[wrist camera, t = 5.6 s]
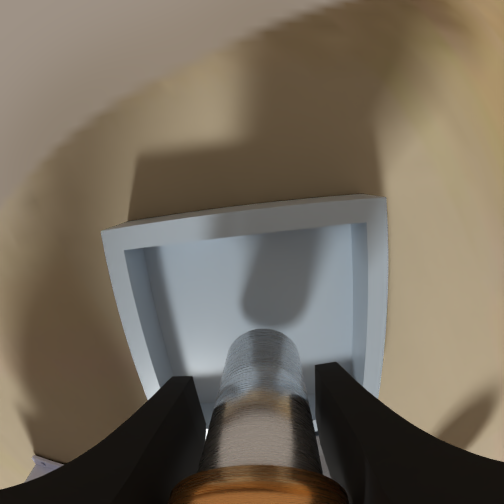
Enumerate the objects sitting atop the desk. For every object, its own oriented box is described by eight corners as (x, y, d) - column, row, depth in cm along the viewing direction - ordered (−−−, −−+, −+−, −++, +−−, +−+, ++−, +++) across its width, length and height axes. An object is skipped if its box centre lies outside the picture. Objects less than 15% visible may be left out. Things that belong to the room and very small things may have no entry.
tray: (174, 407, 15) (163, 438, 12) (127, 221, 12) (100, 230, 10) (360, 389, 14) (374, 419, 12) (362, 193, 12) (385, 197, 10)
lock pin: (223, 400, 12) (185, 570, 4) (210, 322, 11) (129, 498, 3) (310, 393, 11) (345, 566, 4) (307, 313, 11) (371, 495, 3)
